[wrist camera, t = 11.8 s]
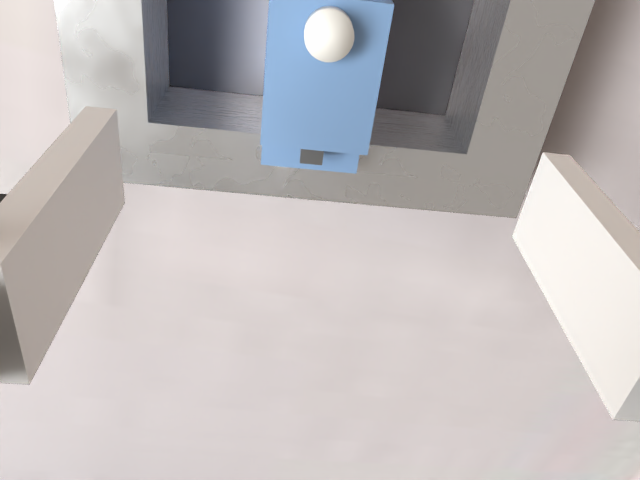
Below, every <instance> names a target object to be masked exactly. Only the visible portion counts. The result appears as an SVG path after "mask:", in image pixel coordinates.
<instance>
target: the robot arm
mask: <svg viewBox="0 0 640 480" xmlns="http://www.w3.org/2000/svg"><path fill="white" fill-rule="evenodd" d="M124 203H125V200H124V188H123V176H122V165H121V153H120V141H119V129H118V118H117V109H110V108H100V107H90V106H85V108H84V109H83V110H82V111H81V112H80V113H79V114H78V115H77V117H76V118H75V119H74V120H73V121H72V122H71V123H70V124H69V126H68V127H67V128H66V129H65V130H64V131H63V132H62V133H61V135H60V136H59V137H58V138H57V139H56V140H55V141H54V142H53V144H52V145H51V146H50V147H49V148H48V149H47V150H46V151H45V153H44V154H43V155H42V156H41V157H40V158H39V159H38V161H37V162H36V163H35V164H34V165H33V166H32V167H31V168H30V170H29V171H28V172H27V173H26V174H25V175H24V176H23V177H22V179H21V180H20V181H19V182H18V183H17V184H16V185H15V186H14V188H13V189H12V190H11V191H10V192H9V193H8V194H0V383H9V384H25V385H30V383H31V381H32V379H33V377H34V375H35V373H36V371H37V370H38V368H39V366H40V364H41V362H42V360H43V358H44V356H45V354H46V352H47V350H48V349H49V347H50V345H51V343H52V341H53V339H54V337H55V335H56V333H57V331H58V329H59V328H60V326H61V324H62V322H63V320H64V318H65V316H66V314H67V312H68V310H69V308H70V307H71V305H72V303H73V301H74V299H75V297H76V295H77V293H78V291H79V289H80V287H81V286H82V284H83V282H84V280H85V278H86V276H87V274H88V272H89V270H90V268H91V266H92V265H93V263H94V261H95V259H96V257H97V255H98V253H99V251H100V249H101V247H102V245H103V244H104V242H105V240H106V238H107V236H108V234H109V232H110V230H111V228H112V226H113V224H114V223H115V221H116V219H117V217H118V215H119V213H120V211H121V209H122V207H123V205H124ZM512 238H513V239H514V241H515V243H516V245H517V247H518V248H519V250H520V252H521V254H522V256H523V258H524V259H525V261H526V263H527V265H528V267H529V268H530V270H531V272H532V274H533V276H534V278H535V279H536V281H537V283H538V285H539V287H540V288H541V290H542V292H543V294H544V296H545V298H546V299H547V301H548V303H549V305H550V307H551V308H552V310H553V312H554V314H555V316H556V318H557V319H558V321H559V323H560V325H561V327H562V328H563V330H564V332H565V334H566V336H567V338H568V339H569V341H570V343H571V345H572V347H573V348H574V350H575V352H576V354H577V356H578V358H579V359H580V361H581V363H582V365H583V367H584V368H585V370H586V372H587V374H588V376H589V378H590V379H591V381H592V383H593V385H594V387H595V388H596V390H597V392H598V394H599V396H600V398H601V399H602V401H603V403H604V405H605V407H606V408H607V410H608V412H609V414H610V416H611V418H612V419H613V420H620V421H636V422H640V232H639V231H638V230H637V229H636V228H635V227H634V226H633V224H632V223H631V222H630V221H629V220H628V219H627V218H626V217H625V216H624V214H623V213H622V212H621V211H620V210H619V209H618V208H617V207H616V205H615V204H614V203H613V202H612V201H611V200H610V199H609V198H608V197H607V195H606V194H605V193H604V192H603V191H602V190H601V189H600V188H599V187H598V185H597V184H596V183H595V182H594V181H593V180H592V179H591V178H590V177H589V175H588V174H587V173H586V172H585V171H584V170H583V169H582V168H581V167H580V165H579V164H578V163H577V162H576V161H575V160H574V159H573V158H572V157H571V155H566V154H556V153H546V152H543V153H542V156H541V159H540V162H539V164H538V167H537V170H536V173H535V175H534V178H533V181H532V184H531V186H530V189H529V192H528V195H527V197H526V200H525V203H524V206H523V208H522V211H521V214H520V217H519V219H518V222H517V225H516V227H515V230H514V233H513V236H512Z"/></svg>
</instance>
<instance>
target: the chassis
mask: <svg viewBox="0 0 640 480" xmlns="http://www.w3.org/2000/svg"><path fill="white" fill-rule="evenodd" d="M594 3H595V0H474V3H473V7H472V11H471V15H470V19H469V23H468V27H467V31H466V35H465V39H464V43H463V47H462V51H461V55H460V59H459V63H458V67H457V71H456V75H455V79H454V83H453V87H452V91H451V95H450V99H449V103H448V107H447V111H446V115H438V114H428V113H419V112H409V111H400V110H390V109H381V108H376V111H375V116H374V122H373V128H372V133H371V139H370V144H369V150H368V155H359V161H358V167H357V173H356V174H354V173H343V172H333V171H322V170H311V169H301V168H290V167H280V166H269V165H261V152H262V145H260V138H261V122H262V106H263V96H257V95H247V94H238V93H228V92H219V91H209V90H200V89H190V88H180V87H171V86H170V84H169V51H168V19H167V0H54V6H55V14H56V21H57V29H58V36H59V43H60V51H61V58H62V66H63V73H64V81H65V88H66V95H67V103H68V110H69V118H70V123H71V122H72V121H73V120H74V119H75V118H76V117H77V115H78V114H79V113H80V112H81V111H82V110H83V109H84V108H85V106H90V107H100V108H110V109H117V118H118V129H119V141H120V153H121V165H122V176H123V183H132V184H143V185H154V186H166V187H177V188H188V189H199V190H210V191H221V192H232V193H243V194H254V195H265V196H276V197H287V198H298V199H309V200H320V201H332V202H343V203H354V204H365V205H376V206H387V207H398V208H409V209H420V210H431V211H442V212H453V213H464V214H475V215H486V216H498V217H509V218H517V215H518V213H519V210H520V207H521V204H522V201H523V199H524V196H525V193H526V190H527V188H528V185H529V182H530V179H531V177H532V174H533V171H534V168H535V166H536V163H537V160H538V157H539V154H540V152H541V149H542V146H543V143H544V141H545V138H546V135H547V132H548V130H549V127H550V124H551V121H552V119H553V116H554V113H555V110H556V108H557V105H558V102H559V99H560V96H561V94H562V91H563V88H564V85H565V83H566V80H567V77H568V74H569V72H570V69H571V66H572V63H573V61H574V58H575V55H576V52H577V49H578V47H579V44H580V41H581V38H582V36H583V33H584V30H585V27H586V25H587V22H588V19H589V16H590V14H591V11H592V8H593V5H594Z"/></svg>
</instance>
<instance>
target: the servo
mask: <svg viewBox="0 0 640 480" xmlns="http://www.w3.org/2000/svg"><path fill="white" fill-rule="evenodd" d="M393 10H394V3H393V1H392V0H269V11H268V27H267V43H266V59H265V75H264V91H263V106H262V122H261V138H260V145H262V152H261V165H269V166H280V167H290V168H301V169H311V170H322V171H333V172H343V173H354V174H356V173H357V167H358V161H359V155H368V150H369V144H370V139H371V133H372V128H373V122H374V116H375V111H376V105H377V100H378V94H379V88H380V83H381V77H382V72H383V66H384V60H385V55H386V49H387V43H388V38H389V32H390V27H391V21H392V15H393Z"/></svg>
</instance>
